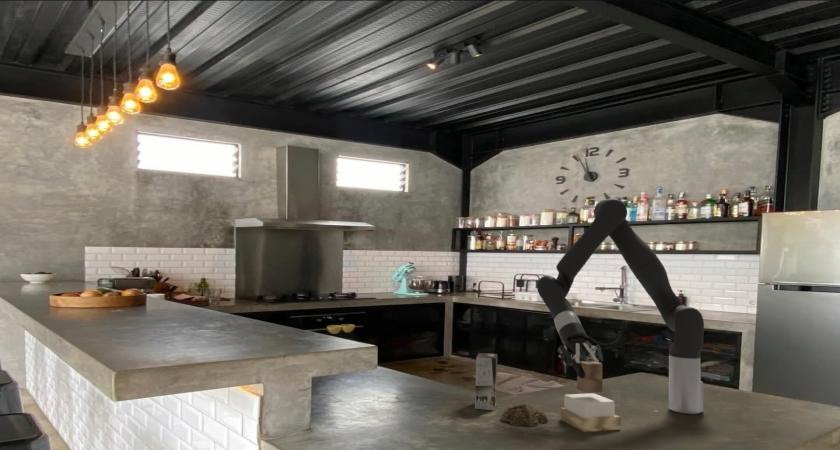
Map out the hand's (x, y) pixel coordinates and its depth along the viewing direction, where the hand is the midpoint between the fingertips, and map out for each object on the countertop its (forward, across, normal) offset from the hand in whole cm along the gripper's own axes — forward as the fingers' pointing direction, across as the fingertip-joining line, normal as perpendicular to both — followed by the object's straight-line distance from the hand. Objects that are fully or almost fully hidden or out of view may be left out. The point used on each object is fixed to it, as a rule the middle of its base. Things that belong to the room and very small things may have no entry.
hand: (591, 376), depth 164 cm
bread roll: (+4, -18, +16) cm, 24 cm away
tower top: (+7, 0, +8) cm, 10 cm away
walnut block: (+2, 0, +4) cm, 4 cm away
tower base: (+10, 0, +11) cm, 14 cm away
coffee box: (-8, -22, +28) cm, 36 cm away
